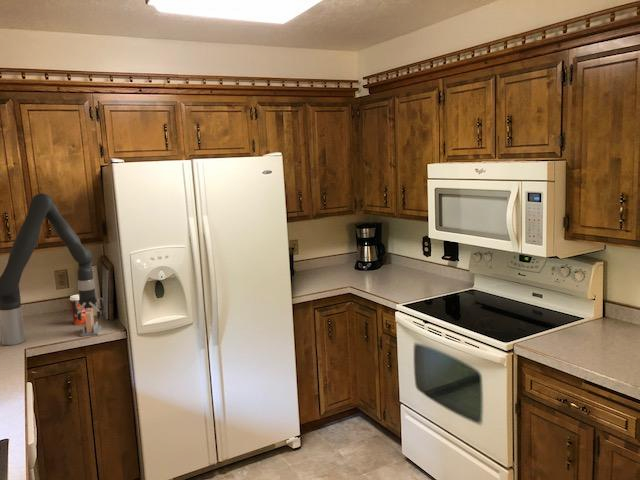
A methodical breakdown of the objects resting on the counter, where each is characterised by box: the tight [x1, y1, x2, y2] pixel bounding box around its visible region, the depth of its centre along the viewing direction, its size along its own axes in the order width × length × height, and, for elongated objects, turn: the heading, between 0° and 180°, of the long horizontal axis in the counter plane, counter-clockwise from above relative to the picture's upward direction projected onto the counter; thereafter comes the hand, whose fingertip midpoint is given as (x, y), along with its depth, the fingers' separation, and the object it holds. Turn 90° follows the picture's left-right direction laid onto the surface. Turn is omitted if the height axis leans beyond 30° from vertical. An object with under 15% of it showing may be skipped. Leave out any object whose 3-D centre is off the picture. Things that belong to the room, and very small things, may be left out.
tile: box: [85, 307, 95, 333], centre depth 269 cm, size 9×2×10 cm, turn 16°
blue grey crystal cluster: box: [79, 321, 102, 338], centre depth 269 cm, size 8×13×4 cm, turn 15°
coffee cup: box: [69, 293, 87, 326], centre depth 285 cm, size 8×8×15 cm
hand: (89, 319), depth 269 cm, fingers open, 8 cm apart
